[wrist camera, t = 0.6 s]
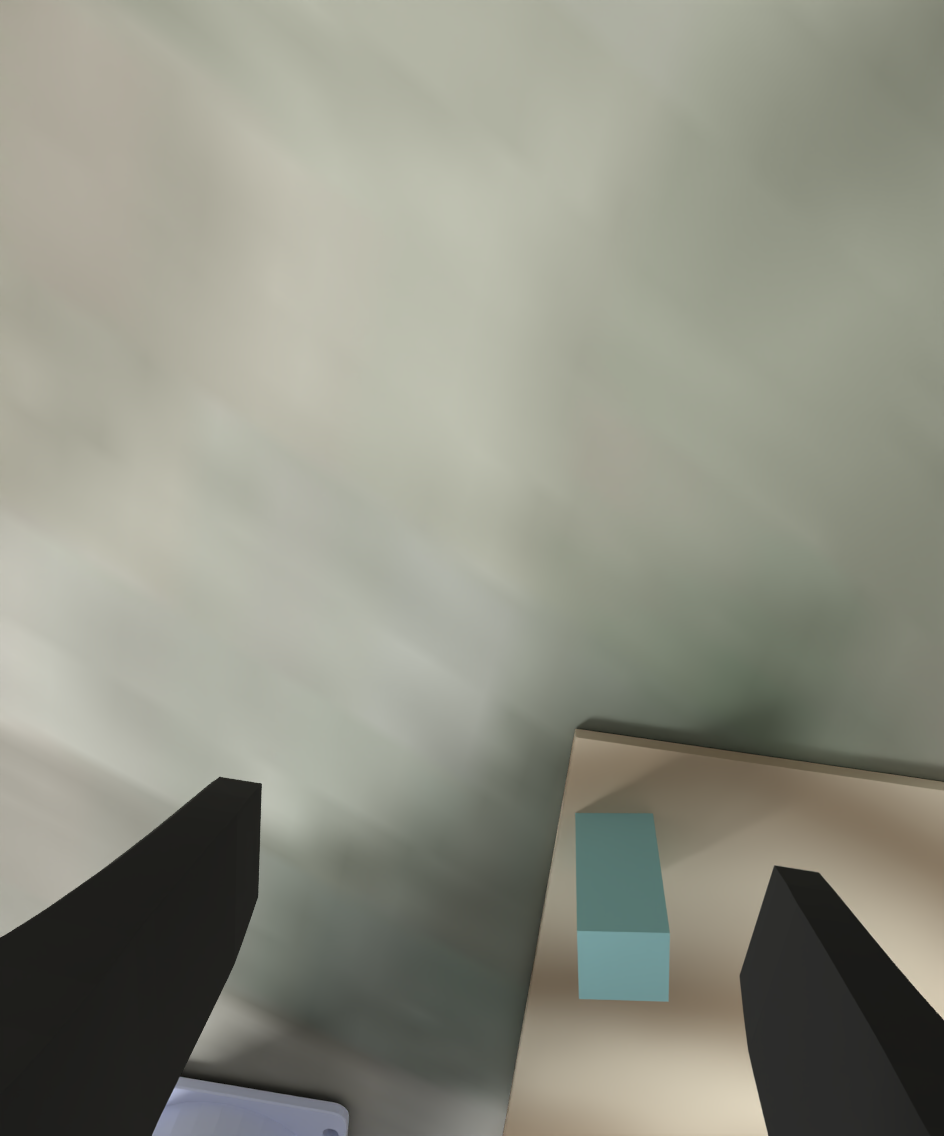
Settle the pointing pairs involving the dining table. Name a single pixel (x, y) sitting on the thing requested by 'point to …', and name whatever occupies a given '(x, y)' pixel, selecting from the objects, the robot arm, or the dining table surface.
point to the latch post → (620, 909)
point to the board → (713, 927)
